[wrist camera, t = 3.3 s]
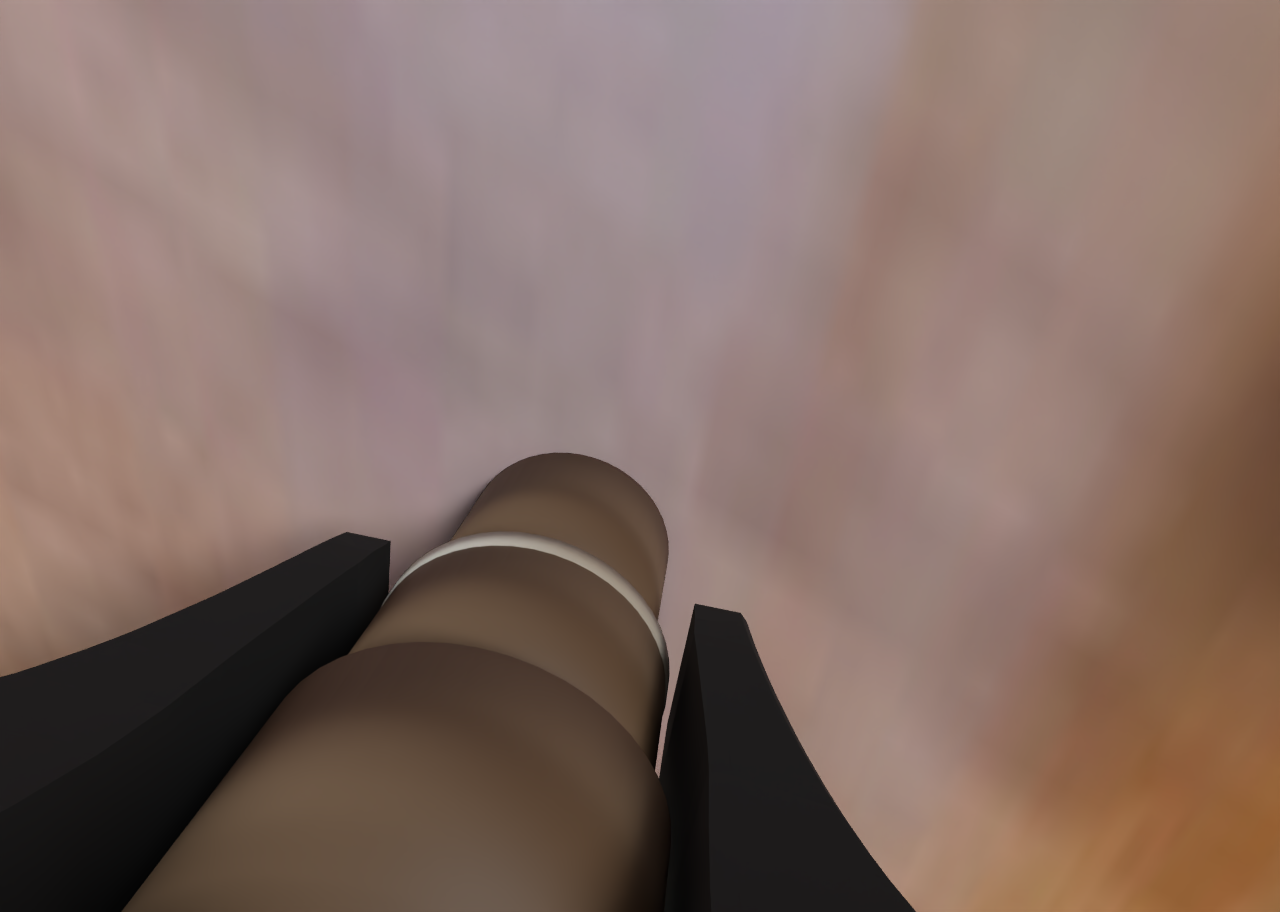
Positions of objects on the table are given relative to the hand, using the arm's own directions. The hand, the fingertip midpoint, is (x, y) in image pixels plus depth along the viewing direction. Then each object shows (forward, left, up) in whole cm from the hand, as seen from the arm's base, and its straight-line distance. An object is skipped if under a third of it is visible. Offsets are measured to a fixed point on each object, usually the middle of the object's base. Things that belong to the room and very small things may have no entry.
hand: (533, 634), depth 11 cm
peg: (0, 0, -2) cm, 2 cm away
